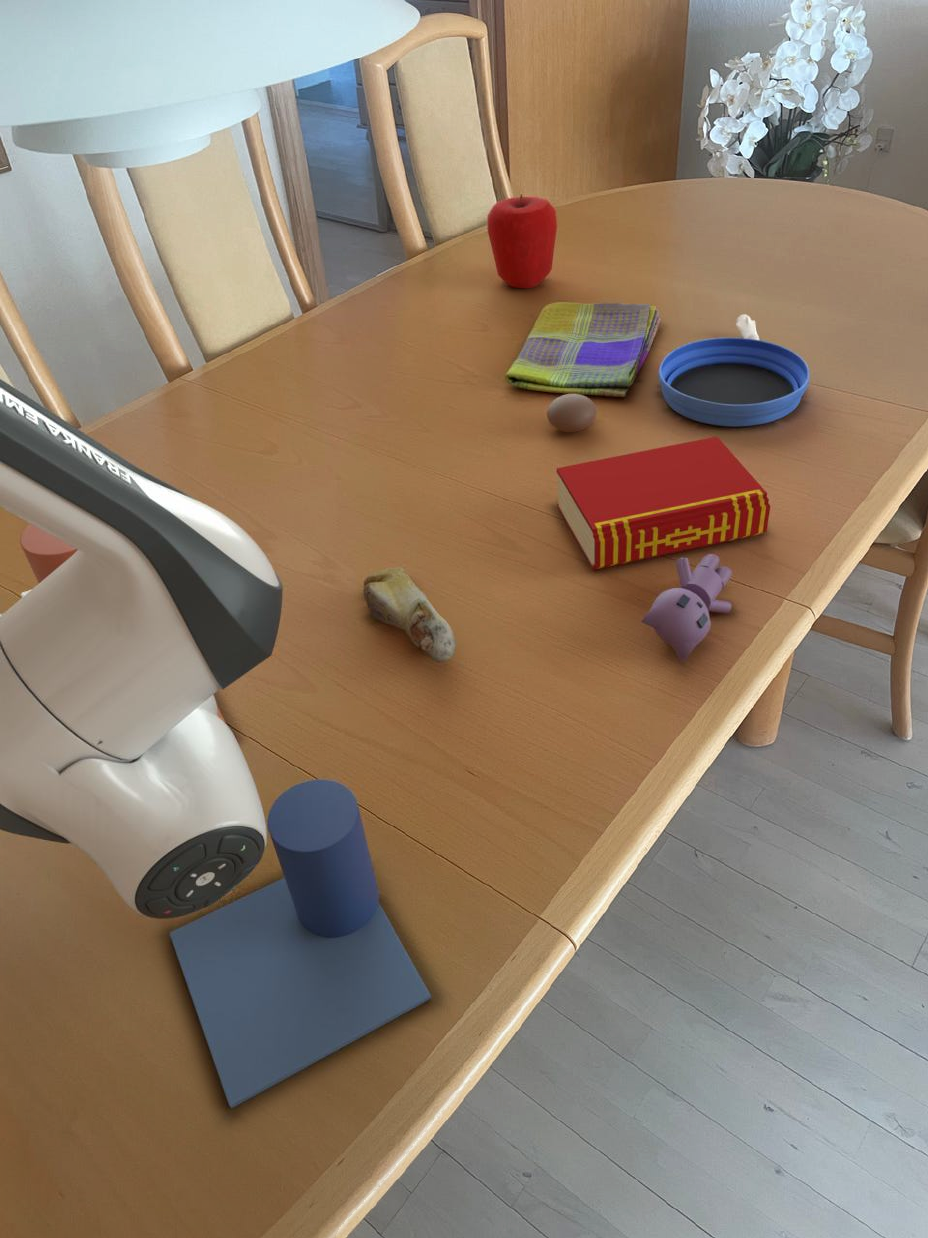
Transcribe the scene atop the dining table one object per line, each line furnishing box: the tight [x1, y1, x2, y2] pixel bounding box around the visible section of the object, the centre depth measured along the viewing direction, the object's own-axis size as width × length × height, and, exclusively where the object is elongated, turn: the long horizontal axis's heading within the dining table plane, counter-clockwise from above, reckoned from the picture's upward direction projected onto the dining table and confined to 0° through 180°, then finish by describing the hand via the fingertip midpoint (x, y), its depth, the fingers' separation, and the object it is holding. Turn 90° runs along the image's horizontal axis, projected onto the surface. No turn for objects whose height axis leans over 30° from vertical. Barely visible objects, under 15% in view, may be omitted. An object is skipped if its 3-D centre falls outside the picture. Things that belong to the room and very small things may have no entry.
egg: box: [546, 393, 597, 433], centre depth 119 cm, size 6×6×4 cm
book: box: [556, 436, 771, 571], centre depth 102 cm, size 18×13×5 cm
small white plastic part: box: [735, 313, 760, 340], centre depth 133 cm, size 4×6×3 cm, turn 159°
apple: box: [486, 193, 558, 289], centre depth 151 cm, size 11×10×14 cm
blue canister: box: [267, 778, 380, 938], centre depth 67 cm, size 6×6×10 cm
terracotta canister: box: [19, 523, 78, 584], centre depth 70 cm, size 6×6×10 cm
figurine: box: [640, 553, 733, 665], centre depth 90 cm, size 5×7×12 cm
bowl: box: [658, 337, 810, 428], centre depth 122 cm, size 18×18×4 cm
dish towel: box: [504, 301, 662, 398], centre depth 134 cm, size 18×24×3 cm
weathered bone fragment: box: [363, 566, 457, 663], centre depth 92 cm, size 5×5×15 cm
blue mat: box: [168, 877, 432, 1109], centre depth 67 cm, size 14×14×1 cm
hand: (85, 578), depth 70 cm, fingers closed on terracotta canister, 6 cm apart
